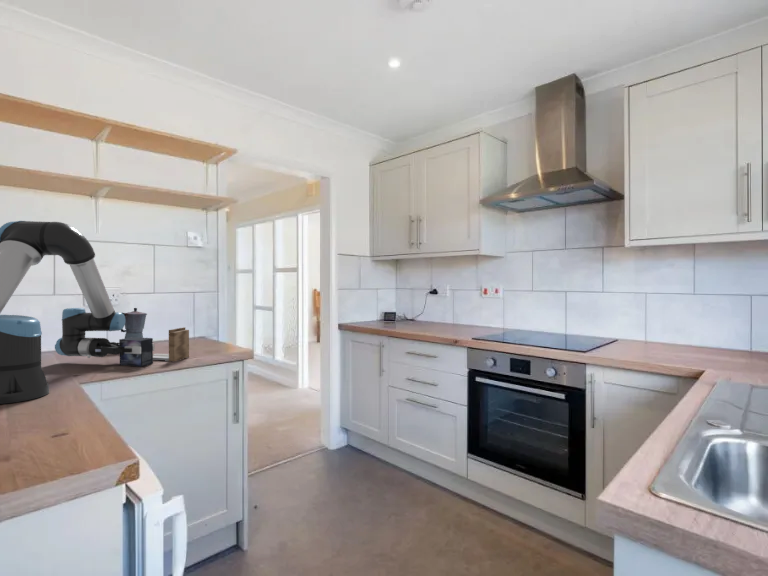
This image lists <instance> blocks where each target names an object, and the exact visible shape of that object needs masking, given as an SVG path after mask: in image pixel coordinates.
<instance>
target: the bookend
mask: <svg viewBox="0 0 768 576" xmlns="http://www.w3.org/2000/svg"><path fill="white" fill-rule="evenodd" d="M186 357H188V358H190V330H189V329H186V327H184V326H183V327H179V328H174V329H173V328H171V329H168V353H154V354H153V360H165V361H164V362H171V361H173V363H174V362H178V361H181V360H184V359H183V358H185V359H187V358H186ZM180 359H181V360H180ZM177 360H178V361H177Z"/></svg>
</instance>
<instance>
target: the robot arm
mask: <svg viewBox="0 0 768 576" xmlns="http://www.w3.org/2000/svg"><path fill="white" fill-rule="evenodd" d="M45 256H59V257H61V258H62V259H63V262H64V263H65V264H66V265H69V267H70V269H71V272H72V274H73V275H74V278H75V280H76V282H77V284H78V286H79V289H80V291H81V293H82V295H83V298H84V300H85V302H86V304H87V306H88V308H89V310H90V312H86V309H85V308H84V307H69V308H64V309H62V313H61V316H62V317H61V324H62V325H61V328H62V329H61V330H62V331H61V333H62V336H61V337H59V338H58V339H57V340H56V341H55V344H54V351H55V352H56V353H57V354H58V355H60V356H64V357H87V358H88V359H90V358H93V357H95V358H100V357H101V358H103V357H106V356H107V355H116V356H117V355H119V356H120V355H121V356H122V355H124V352H125V354H141V347H135V346H125V348H124V347H120V346H119V342H115V341H109V339H108V338H106V337H86V332H116V331H118V332H119V331H121V329H123V330H124V328H125V316H124V314H122V313H123V312H119V311H115V309H114V306H113V304H112V302H111V301H112V300H111V299H110V296H109V294H108V291H107V289H106V287H105V283H104V281H103V279H102V277H101V274H100V272H99V269H98V267H97V264H96V261H95V257H96V253H95V250H94V248H93V246H92V245H91V243H90V241H89V240H88V239H87V237H85V236H84V235H83V233H82V232H80V231H79V230H78V229H76V228H75V227H73V226H71V225H70V224H67V223H64V222H61V221H35V220H34V221H31V220H17V221H8V222H6V223H4V224H3V225H1V226H0V405H2V404H3V405H4V404H12V403H19V402H25V401H31V400H35V399H38V398H42V397H45V396H46V395H48V394H49V393H50V383H49V382H48V381H47V378H46V376H45V375H46V374H45V373H44V371H43V369H42V368H43V367H42V335H43V333H42V332H43V331H42V327H41V326H42V325H41V321H40V320H39V319H38V318H36V317H32V316H28V315H20V314H19V315H18V314H16V315H15V314H1V313H2V311H4V308H5V307H6V306H7V304H8V302H9V300H11V298H12V296H13V294H14V293H15V292H16V290H17V288H18V287H19V286H20V284H21V282H22V281H23V279H24V277H25V276H26V274H27V273H28V271H29V269H30V268H31V267H32V266H36V265H39V264H40V262H41V261H42V260H43V258H44V257H45ZM152 344H153V346H152V347H153V351H156V350H155V343H152Z"/></svg>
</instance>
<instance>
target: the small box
mask: <svg viewBox="0 0 768 576" xmlns="http://www.w3.org/2000/svg"><path fill="white" fill-rule="evenodd" d="M153 339H154V338H152V337H143V338H139V337H130V338H125V337H124V338H121V339H119V340H118V341H119V342H118V343H119V346H120V347H124V348H125V346H135V347H141V354H125V352H124V355H122V356H121V355H120V354H119V366H125V367H126V366H128V367H137V368H139V367H145V366H151V365H153V364H154V361H153V353H154V352H153V347H152V346H153V344H154V343H153V341H154V340H153Z"/></svg>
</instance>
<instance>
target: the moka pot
mask: <svg viewBox="0 0 768 576" xmlns="http://www.w3.org/2000/svg"><path fill="white" fill-rule="evenodd" d="M121 313H122V314H124V316H125V325H124V328H125V329H124V328H123V329H121V330H120V332H121V333H125V335H124V339H125V338H130V337H139V338H144V336H143V335H144V334H143V331H144V329H145V324H146V319H147V318H146V317H147V315H148V313H146V312H141V311H138V307H134V308H133V311H128V312H121Z"/></svg>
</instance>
